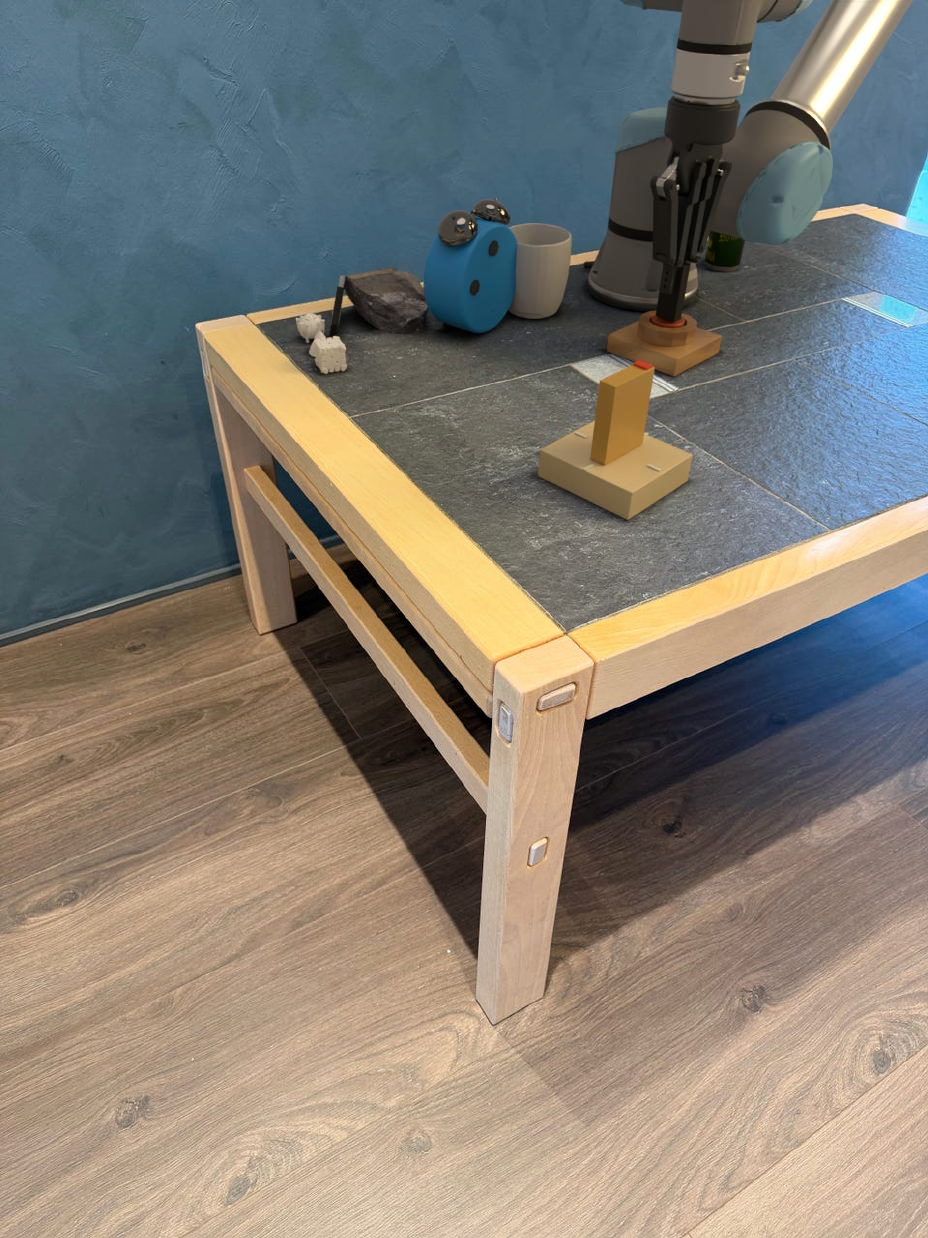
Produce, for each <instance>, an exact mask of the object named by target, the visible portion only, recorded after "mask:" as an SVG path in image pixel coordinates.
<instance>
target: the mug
mask: <svg viewBox="0 0 928 1238" xmlns="http://www.w3.org/2000/svg"><path fill="white" fill-rule="evenodd" d="M508 227H509V228H510V229H511V231H512V232H513V233H514V235H515V237H516V239H517V258H516V292H515V295H514V297H513V300H512V302H511V305H510V307H509V309H508V310H507V311H509V312H510V313H511V314H512V315H514V316H517V317H519V318H523V319H532V320H539V319H544V318H548V317H549V318H550V317H551V316H553V315H555V314H556V312H557V311H558V309H559V308H560V306H561V303H562V302H563V298H564V295H565V291H566V286H567V283H568V279H569V274H570V266H571V259H572V243H573V237H572V233H571V232H570V231H569V230H567V229H565V228H564V227H561V226H558V225H554V224H549V223H538V222H537V223H536V222H530V223H529V222H527V223H521V224H516V225H512V226H508Z"/></svg>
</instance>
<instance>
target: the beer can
mask: <svg viewBox="0 0 928 1238" xmlns="http://www.w3.org/2000/svg"><path fill="white" fill-rule="evenodd" d="M745 243H746V241H745V240H743V239H742V238H738V237H734V236H730V235H726V234H722V233H718V232H714V231H710V233H709V237H708V240H707V243H706V247H705V254H704V261H703V262H704V264H705V266H706V268H708V269H709V270H712V271H715V272H725V273H726V272H727V273H728V272H733V271H736V270H737V269H739V267H740V265H741V262H742V257H743V251H744V248H745Z"/></svg>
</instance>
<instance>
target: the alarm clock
mask: <svg viewBox="0 0 928 1238" xmlns="http://www.w3.org/2000/svg"><path fill="white" fill-rule="evenodd" d="M510 223H511V213H510V211H509V209H508V208H507V207H506V205H505V204H504V203H502V202H500V201H498V198H496V197H494V199H491V198H485V199H481V200H479V201H477V202H476V203H475V204H474V205H473V206H472V209H471V210H470V212H469V211H467V210H462V209H461V210H460V209H457V210H452V211H451V212H449V213H447V214H446V215H445V216H443V217H442V218H441V220H440V221H439V223H438V227H437V234H436V236H435V237H434V239H433V241H432V243H431V245H430V248H429V250H428V253H427V257H426V260H425V266H424V270H423V271H424V272H423V287H424V295H425V300H426V303H427V306H428V311H429V312H430V313H431V315H432V316H433V317H434V318H435V319H436V320H437V321H438V322H440V323H442V332H446V330H447V327H448V326H452V327H455V328H458V329H461V330H465V331H468V332H472V333H475V334H483V333H487V332H489V331H491V330H492V329H493V328H494V327H496V326H498V324H499V323H500V322H501V321H502V319H503V318H504V317H505V316H506V314H507V312H508V311H509V310H508V309H509V307H510V305H511V302H512V300H513V297H514V295H515V292H516V258H517V239H516V237H515V235H514V233H513V232H512V231H511V229H510V228H509V227H510Z"/></svg>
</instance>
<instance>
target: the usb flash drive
mask: <svg viewBox="0 0 928 1238" xmlns="http://www.w3.org/2000/svg"><path fill="white" fill-rule="evenodd" d="M345 277H346V275H342V274H341V275H339V281H338V286H337V287H336V292H335V297H334V301H333V308H332V313H331V320H330V326H329V327H330V329H329V333H328V335H329V338H330V337H331V338H332V337H333V336H337V335H338V329H339V326H340V320H341V313H342V306H343V299H344V294H345V289H344V286H343V285H344V282H345ZM337 337H338V336H337Z"/></svg>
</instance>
